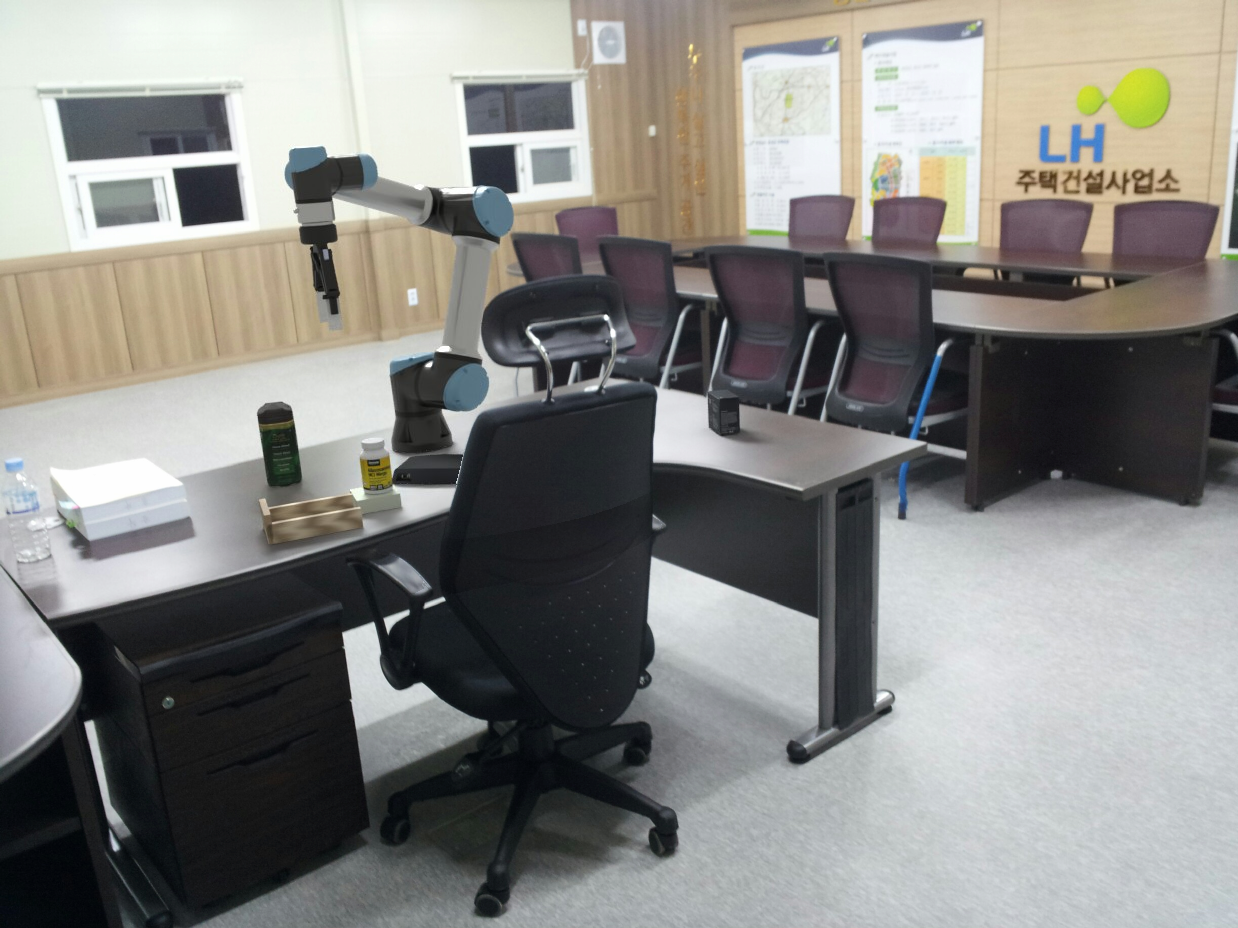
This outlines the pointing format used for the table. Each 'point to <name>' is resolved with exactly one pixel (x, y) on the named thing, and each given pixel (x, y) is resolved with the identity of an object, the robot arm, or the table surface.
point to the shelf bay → (310, 518)
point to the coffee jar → (279, 444)
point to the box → (723, 412)
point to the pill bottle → (375, 466)
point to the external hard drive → (428, 470)
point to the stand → (376, 500)
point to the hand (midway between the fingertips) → (331, 325)
